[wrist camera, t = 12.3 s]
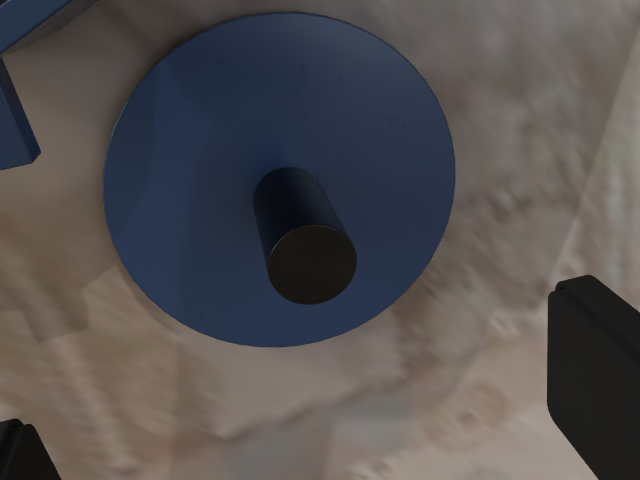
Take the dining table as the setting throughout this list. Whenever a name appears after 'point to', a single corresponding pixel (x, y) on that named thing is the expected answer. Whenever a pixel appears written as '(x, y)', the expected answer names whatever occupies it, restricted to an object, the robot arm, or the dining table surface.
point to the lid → (278, 179)
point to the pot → (3, 102)
